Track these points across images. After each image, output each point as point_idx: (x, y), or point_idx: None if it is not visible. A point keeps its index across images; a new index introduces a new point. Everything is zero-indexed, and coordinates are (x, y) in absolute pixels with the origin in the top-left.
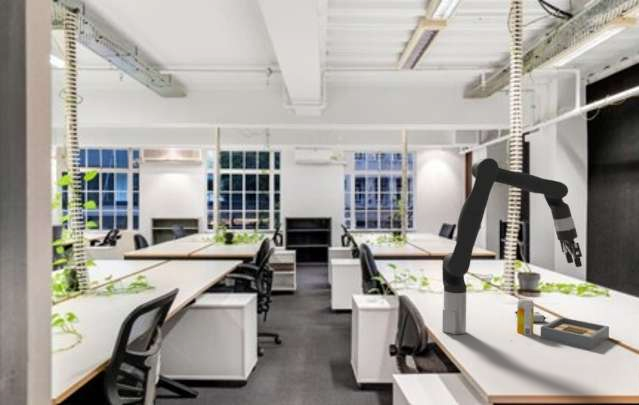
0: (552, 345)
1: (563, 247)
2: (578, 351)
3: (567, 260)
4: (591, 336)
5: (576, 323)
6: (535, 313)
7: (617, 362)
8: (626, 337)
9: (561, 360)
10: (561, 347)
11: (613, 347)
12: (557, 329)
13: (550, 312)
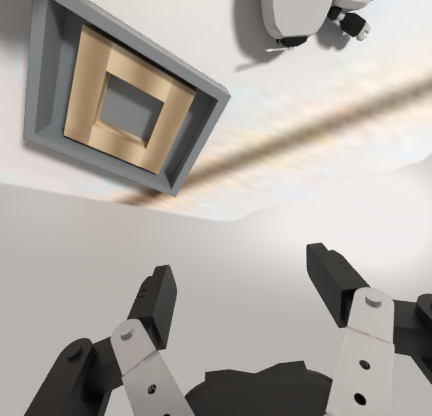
0: (30, 22)
1: (376, 401)
2: None
3: (317, 256)
4: (39, 141)
5: (200, 132)
6: (316, 7)
7: (11, 163)
8: (211, 211)
9: None
10: None
11: None
12: (104, 57)
13: (413, 92)
